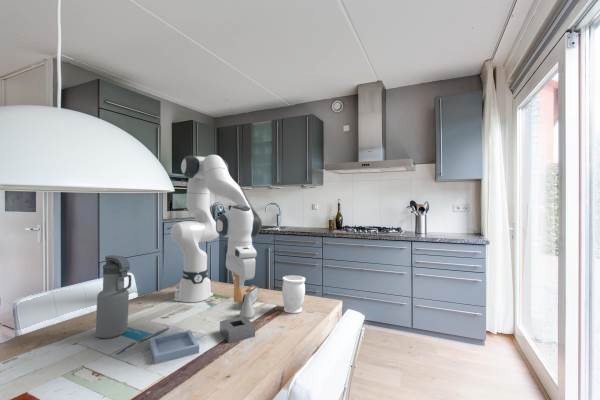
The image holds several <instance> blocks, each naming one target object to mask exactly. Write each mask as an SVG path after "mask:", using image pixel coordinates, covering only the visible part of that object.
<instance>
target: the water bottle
mask: <svg viewBox="0 0 600 400" xmlns="http://www.w3.org/2000/svg"><path fill="white" fill-rule="evenodd" d="M104 261H105V264H104V265H102V275H103V276H102V290H100V292H99V293H97V295H96V296H97V297H96V315H95V316H96V321H95V335H96V337H97V338H99V339H113V338H116V337H119V336H122V335H124V334H125V333H126V332H127V330H128V327H129V326H128V325H129V324H128V322H129V299H130V298H129V297H130V296H129V295H130V294H129V293H130V292H129V289H130V288H131V287H132V275H131V274H128V271H129V270H130V268H131V265H130V262H129V260H128V258H127V257H125V256H123V255H122V256H121V255H116V254H115V255H114V254H113V255H106V256H105V259H104ZM125 278H128V285H127V286H126V287H125Z"/></svg>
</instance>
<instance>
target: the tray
mask: <svg viewBox="0 0 600 400" xmlns="http://www.w3.org/2000/svg"><path fill="white" fill-rule="evenodd" d="M149 347H150V351H151V355H152V358H153V359H152V360H153V363H154V364H155V365H156V364H160V363H161V364H162V363H164V362H168V361H173V360H176V359H180V357H181V358H184V356H185V357H187V356H188V355H189V356H193V355H195V354H199V353H200V344H199V343H198V341H197V339H196V337H195V336H194V334H193V333H192V331H191V330H190V329H188V330H183V331H178V332H175V333H169V334H164V335H159V336H154V337H150V338H149ZM189 356H188V357H189Z"/></svg>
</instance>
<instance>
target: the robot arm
mask: <svg viewBox="0 0 600 400" xmlns="http://www.w3.org/2000/svg"><path fill="white" fill-rule="evenodd" d="M229 168H230V167H229V164H228V162H227V161H226V160H225V159H223V158H222V157H221V156H219V155H218V154H209V155H207V156H199V155H197V156H196V155H195V156H194V155H187V156H184V158H183V159H182V162H181V165H180V169H181V173H182V176H184V177H185V178H188V180H187V181H188V182H187V188H186V203H185V204H186V209H187V211H188V212H190V213H191V214H193V216H194V220H184V221H180V222H176V223H174V224H173V225H172V227H171V229H170V237H171V240H172V241H173V242H174V243H175V244H177V245H178V246H179V248H180V249H181V251H182V254H183V270H182V273H181V274H182V276H181V277H182V278H181V280H180V281H179V283H176V285H175V289H176V290H174V301H175V302H184V303H197V302H203V301H206V300H208V299H209V298H210V297H212V296H214V293H213V292H212V291H211V279H210V278H209V277H208V276H209V275H208V274H209V271H208V254H207V253H206V251H205V250H203V249H201V248H200V247H199V243H203V242H210V241H214V240H216V239H218V237H219V236H221V237H223V238H228V239H227V252H226V255H225V257H226V258H225V268H226V269H227V270H228V271H230V272H231V276H232V283H233V284H234V279H235V275H233V271H234V272H235V274H236V275H238V276H239V279H240V280H239V282H238V287H239V288H242V289H243V288H244V287H245V281H247V280H253V279H254V278H255V276H256V275H255V274H256V258H257V255H258V252H257V250H256V248H255V247H254V245H253V238H255V237H256V236H257V235H258V234H259V233H260V232H261V230H262V226H263V223H262V220H261V219H262V218H260V215H259V214H258V213H257V212H256V210H255V209H254V207H253V206H252V204H251V202H250V200H249V197H248V196H247V194H246V192H245V191H244V189H243V187H242V186H241V185H239V184H238V183H237V182H236V181H235V180H234V179H233V177H232V176H231V175H230V172H229ZM211 194H213V195H215V196H218V197H221V198H225V199H227V200H230V201H232V202H234V203H235V205H232V206H231V207H230V209H229V211H227V212H225V213H221V214H219V215H218V217H217V218H216V220H215V219H214V217H213V215H212V212H211V208H210V207H211V205H210V204H211V203H210V202H211V201H210V200H211V199H210V198H211Z"/></svg>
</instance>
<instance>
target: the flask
mask: <svg viewBox="0 0 600 400" xmlns="http://www.w3.org/2000/svg"><path fill="white" fill-rule="evenodd" d="M244 295H245V299H244V303H243V304H242V306H241V309H240V311H239V315H238V317H243V316H245V317H246V318H247V319H248V320H250V319H253V318H255V317H256V313H255V312H256V311H255V310H254V307H253V305H254V304H253V305H252V302H251V292H244V293H243V296H244Z"/></svg>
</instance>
